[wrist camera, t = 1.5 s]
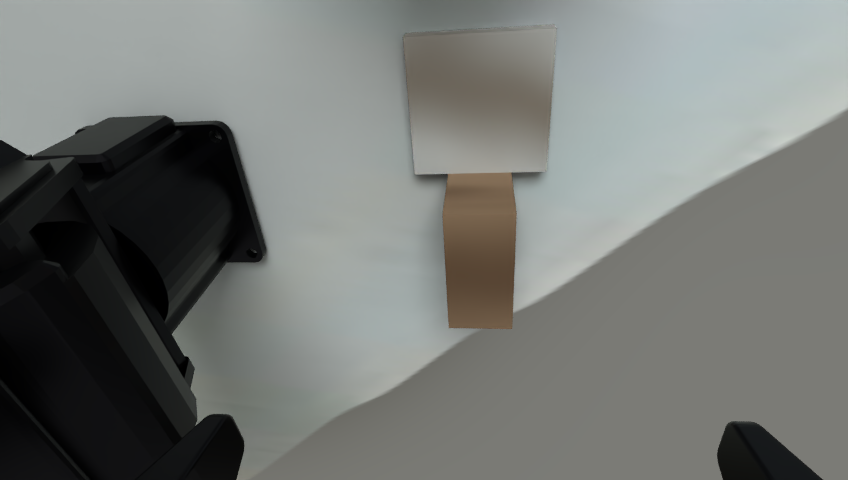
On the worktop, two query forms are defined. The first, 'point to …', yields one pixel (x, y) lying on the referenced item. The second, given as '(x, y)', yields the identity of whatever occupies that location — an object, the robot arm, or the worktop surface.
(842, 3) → the worktop surface
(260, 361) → the worktop surface
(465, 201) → the grey-capped brown block
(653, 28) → the worktop surface
